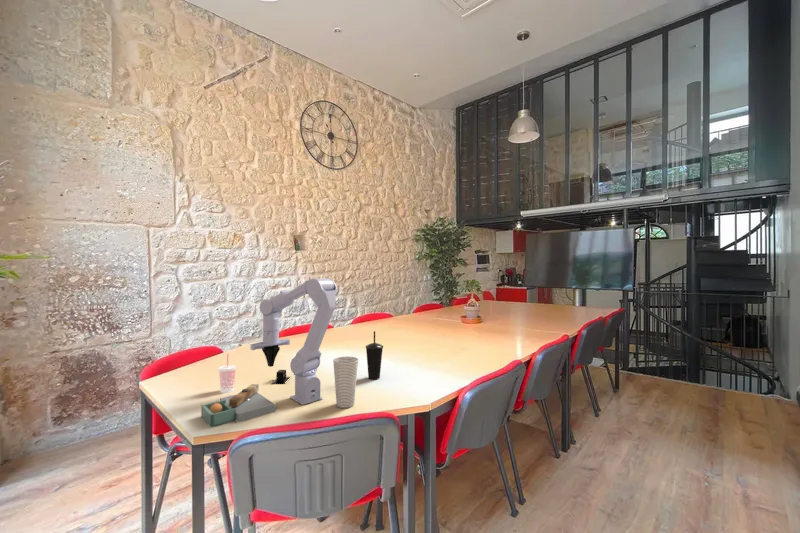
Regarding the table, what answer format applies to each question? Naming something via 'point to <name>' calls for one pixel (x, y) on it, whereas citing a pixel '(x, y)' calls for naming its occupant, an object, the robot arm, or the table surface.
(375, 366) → the drinking cup
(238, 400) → the lever
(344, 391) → the cup
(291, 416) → the table surface
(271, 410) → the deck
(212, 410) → the ball
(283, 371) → the black blocky device
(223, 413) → the teal dish
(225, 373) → the beverage cup
